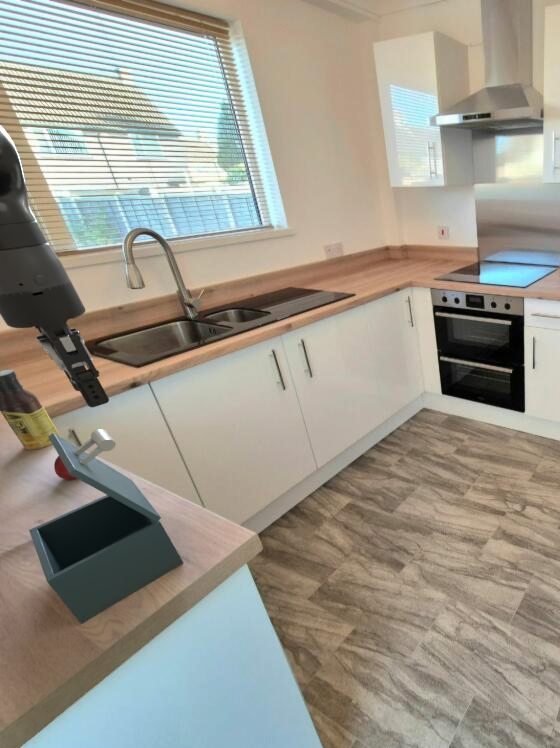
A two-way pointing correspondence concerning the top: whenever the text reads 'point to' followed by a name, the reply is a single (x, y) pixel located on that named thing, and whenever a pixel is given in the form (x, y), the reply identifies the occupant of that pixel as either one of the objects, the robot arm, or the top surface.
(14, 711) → the top surface
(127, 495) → the lid
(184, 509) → the top surface
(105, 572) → the chest
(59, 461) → the onion
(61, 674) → the top surface
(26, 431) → the sauce bottle
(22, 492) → the top surface
